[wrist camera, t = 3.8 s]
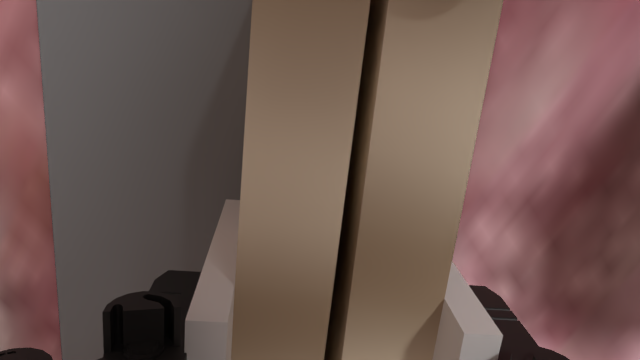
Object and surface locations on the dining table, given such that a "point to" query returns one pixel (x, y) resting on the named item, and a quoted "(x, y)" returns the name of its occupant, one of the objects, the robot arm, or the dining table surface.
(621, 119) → the dining table surface
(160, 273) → the mat
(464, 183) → the clamp base
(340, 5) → the clamp jaw
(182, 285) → the robot arm
